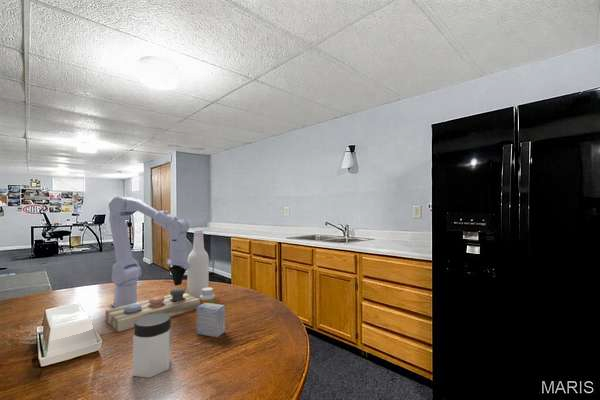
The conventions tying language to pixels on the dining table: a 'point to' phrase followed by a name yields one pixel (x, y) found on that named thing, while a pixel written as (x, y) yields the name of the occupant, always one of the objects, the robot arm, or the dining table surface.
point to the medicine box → (211, 319)
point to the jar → (151, 345)
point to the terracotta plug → (156, 301)
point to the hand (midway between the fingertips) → (177, 284)
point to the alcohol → (198, 266)
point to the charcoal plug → (177, 294)
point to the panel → (150, 311)
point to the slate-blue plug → (132, 308)
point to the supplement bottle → (207, 296)
